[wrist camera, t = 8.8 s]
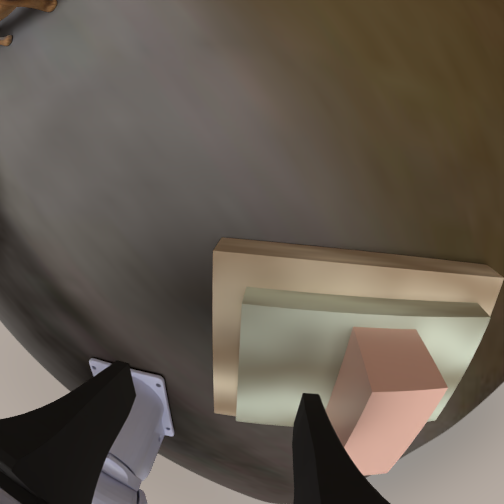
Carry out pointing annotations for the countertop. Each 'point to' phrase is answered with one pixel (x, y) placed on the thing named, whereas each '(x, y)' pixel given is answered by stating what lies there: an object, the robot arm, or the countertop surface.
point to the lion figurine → (3, 3)
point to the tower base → (324, 279)
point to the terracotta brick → (383, 395)
